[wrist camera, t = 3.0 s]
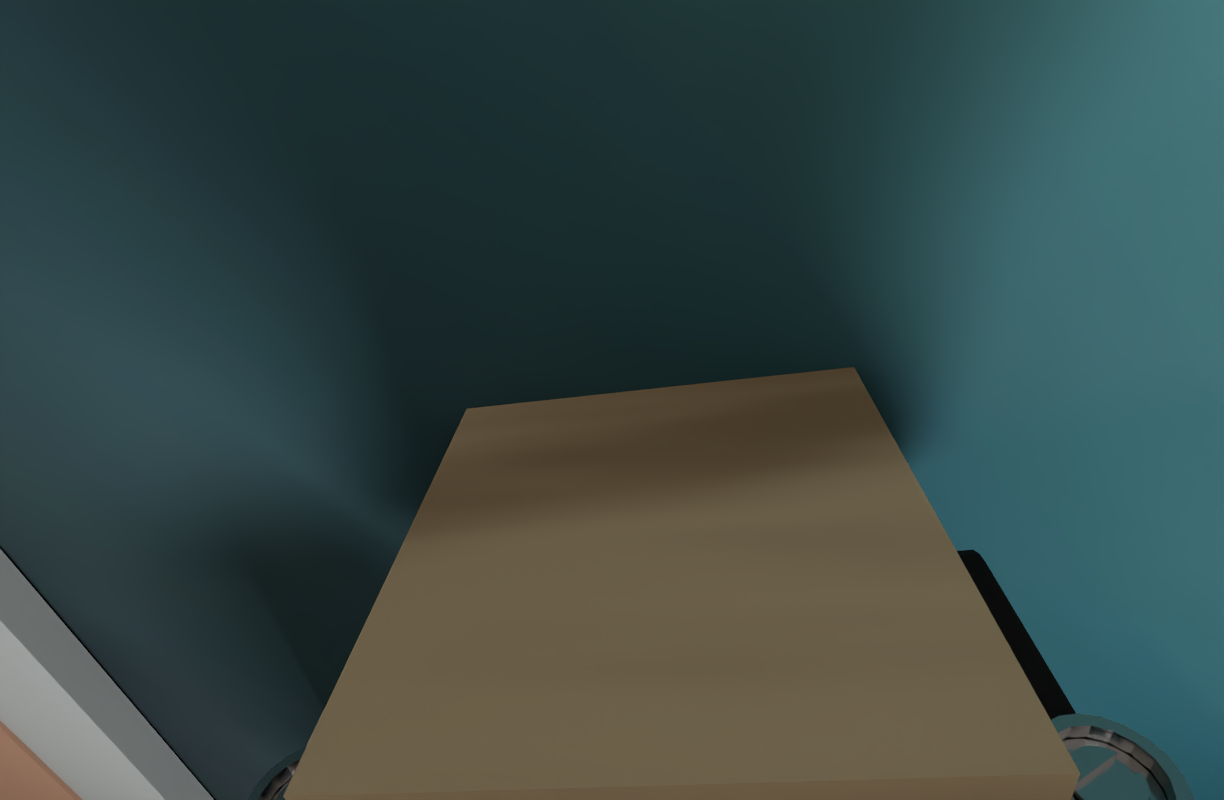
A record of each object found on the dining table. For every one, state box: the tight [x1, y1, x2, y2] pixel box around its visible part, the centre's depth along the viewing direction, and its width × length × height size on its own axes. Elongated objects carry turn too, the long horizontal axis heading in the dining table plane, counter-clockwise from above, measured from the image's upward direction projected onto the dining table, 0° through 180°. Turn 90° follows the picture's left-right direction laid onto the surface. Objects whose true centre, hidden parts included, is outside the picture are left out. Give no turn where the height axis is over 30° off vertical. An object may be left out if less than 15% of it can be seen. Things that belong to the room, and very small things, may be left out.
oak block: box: [283, 367, 1080, 800], centre depth 9 cm, size 6×6×6 cm
